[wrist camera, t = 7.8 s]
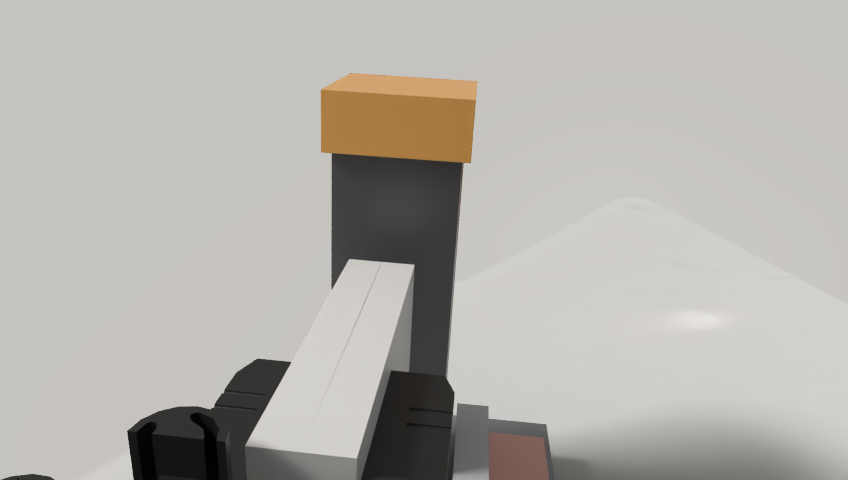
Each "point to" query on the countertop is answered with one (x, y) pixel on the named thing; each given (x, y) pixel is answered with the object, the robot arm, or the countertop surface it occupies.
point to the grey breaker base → (497, 448)
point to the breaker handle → (401, 188)
